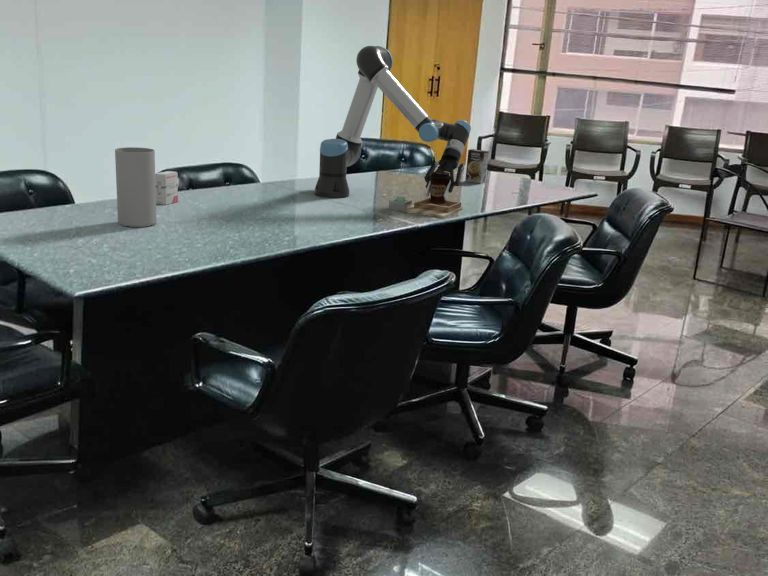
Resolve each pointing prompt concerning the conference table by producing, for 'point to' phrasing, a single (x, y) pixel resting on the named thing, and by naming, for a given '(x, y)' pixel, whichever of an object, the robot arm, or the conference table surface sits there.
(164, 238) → the conference table surface
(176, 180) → the ink box
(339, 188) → the robot arm
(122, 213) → the cylinder vase
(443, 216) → the tray
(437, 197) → the coffee cup
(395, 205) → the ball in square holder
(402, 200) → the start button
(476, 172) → the coffee box
